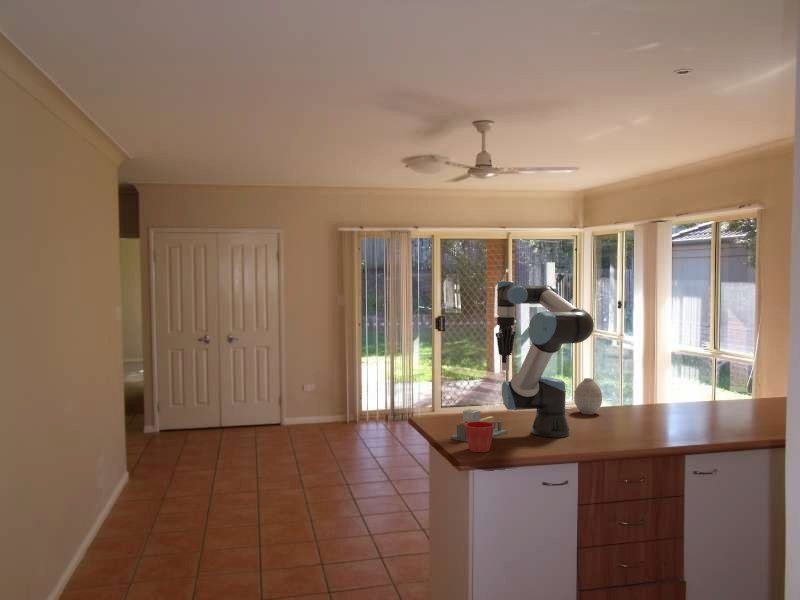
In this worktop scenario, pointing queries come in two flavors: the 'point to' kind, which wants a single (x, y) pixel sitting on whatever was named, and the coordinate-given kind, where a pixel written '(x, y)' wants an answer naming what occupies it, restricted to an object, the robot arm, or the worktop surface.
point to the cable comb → (496, 432)
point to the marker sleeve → (471, 416)
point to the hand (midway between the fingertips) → (505, 370)
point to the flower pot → (479, 435)
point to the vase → (588, 397)
